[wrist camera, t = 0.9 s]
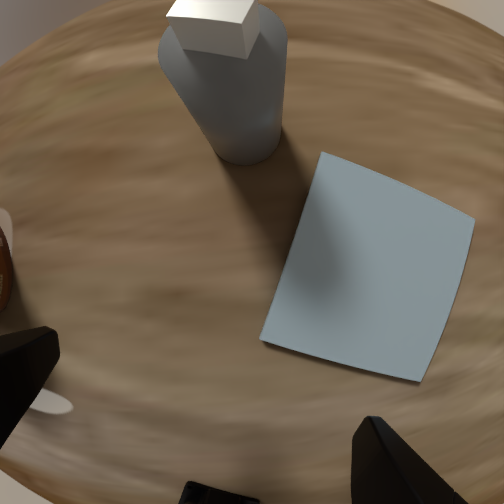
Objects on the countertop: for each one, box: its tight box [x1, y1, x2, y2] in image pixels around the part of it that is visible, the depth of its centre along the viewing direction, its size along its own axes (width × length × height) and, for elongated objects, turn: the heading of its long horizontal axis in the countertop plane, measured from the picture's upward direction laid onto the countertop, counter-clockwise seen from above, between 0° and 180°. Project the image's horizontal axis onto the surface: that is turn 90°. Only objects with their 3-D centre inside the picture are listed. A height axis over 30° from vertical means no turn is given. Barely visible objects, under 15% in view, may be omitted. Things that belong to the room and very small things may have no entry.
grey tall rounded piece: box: [158, 0, 288, 165], centre depth 13 cm, size 5×5×12 cm
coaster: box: [259, 152, 475, 382], centre depth 18 cm, size 12×12×1 cm
